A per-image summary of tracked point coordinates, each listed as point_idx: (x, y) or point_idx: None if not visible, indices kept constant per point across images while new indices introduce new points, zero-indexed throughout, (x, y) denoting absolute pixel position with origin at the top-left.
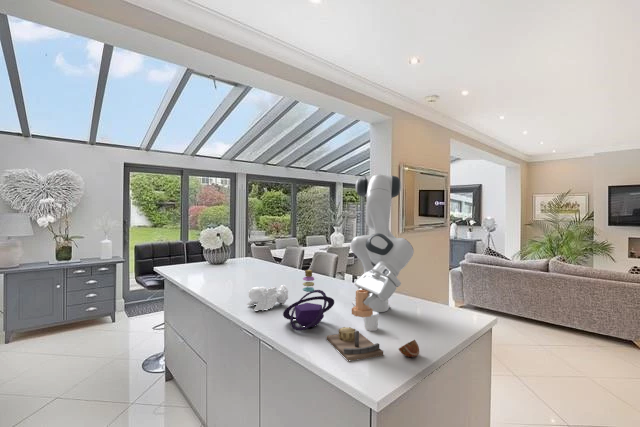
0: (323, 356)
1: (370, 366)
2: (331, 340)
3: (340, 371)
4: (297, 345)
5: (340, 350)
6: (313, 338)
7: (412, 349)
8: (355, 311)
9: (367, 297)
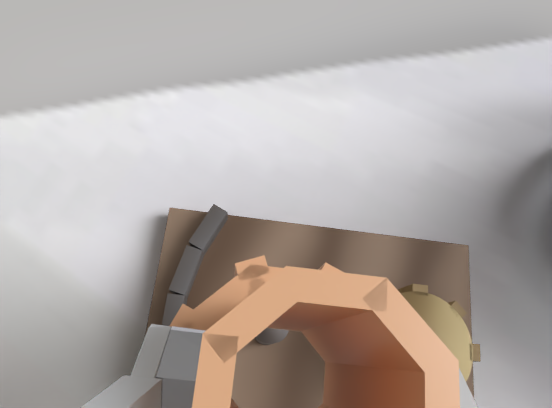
0: (275, 142)
1: (68, 288)
2: (395, 237)
3: (110, 138)
4: (433, 93)
5: (262, 220)
6: (493, 194)
7: None
8: (246, 260)
9: (135, 400)
